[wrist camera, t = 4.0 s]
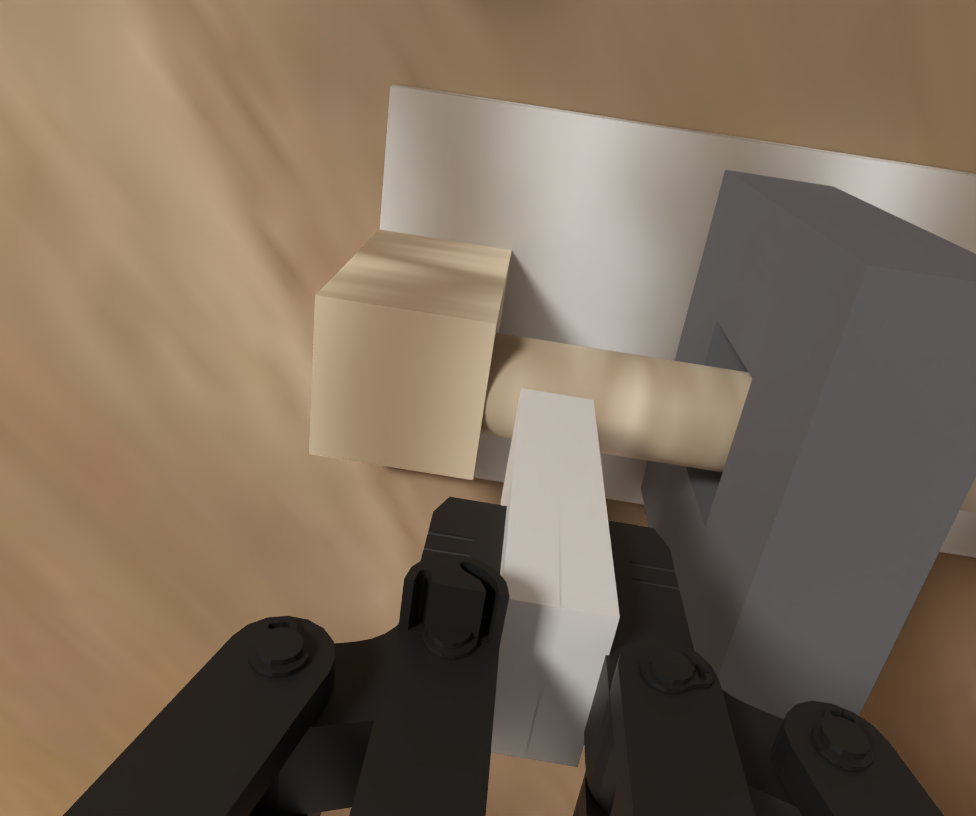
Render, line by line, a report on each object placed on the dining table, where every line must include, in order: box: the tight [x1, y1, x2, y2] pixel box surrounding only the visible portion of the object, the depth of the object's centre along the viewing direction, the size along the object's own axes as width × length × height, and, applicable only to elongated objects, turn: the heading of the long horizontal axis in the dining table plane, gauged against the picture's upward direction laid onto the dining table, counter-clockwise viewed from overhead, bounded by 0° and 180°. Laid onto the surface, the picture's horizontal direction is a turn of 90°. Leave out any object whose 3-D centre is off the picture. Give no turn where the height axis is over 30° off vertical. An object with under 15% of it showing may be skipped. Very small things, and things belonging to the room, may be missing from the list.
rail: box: [309, 84, 976, 558], centre depth 21 cm, size 32×12×8 cm, turn 82°
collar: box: [641, 170, 976, 719], centre depth 18 cm, size 3×10×10 cm, turn 172°
